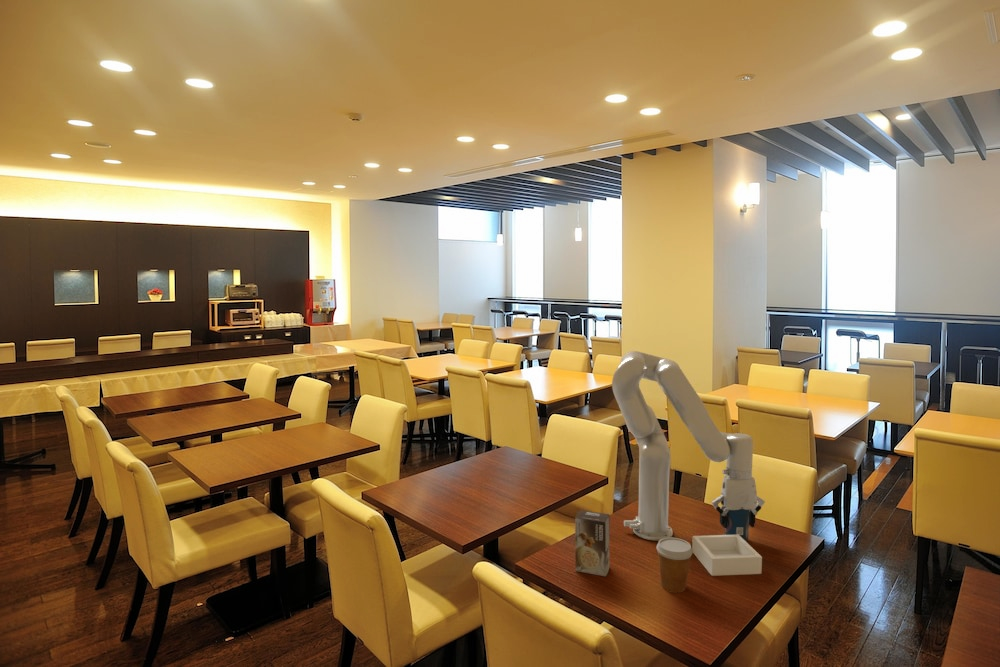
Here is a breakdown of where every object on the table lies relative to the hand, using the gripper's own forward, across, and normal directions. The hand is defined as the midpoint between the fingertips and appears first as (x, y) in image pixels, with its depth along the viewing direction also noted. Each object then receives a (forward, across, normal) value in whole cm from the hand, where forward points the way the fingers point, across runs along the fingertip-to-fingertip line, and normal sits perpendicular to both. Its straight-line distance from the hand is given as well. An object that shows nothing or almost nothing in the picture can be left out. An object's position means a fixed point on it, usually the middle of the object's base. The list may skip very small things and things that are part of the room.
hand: (737, 525), depth 187 cm
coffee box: (+5, -50, -15) cm, 53 cm away
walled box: (+5, -10, -14) cm, 18 cm away
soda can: (+5, 0, 0) cm, 5 cm away
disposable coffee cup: (+5, -30, -26) cm, 40 cm away
